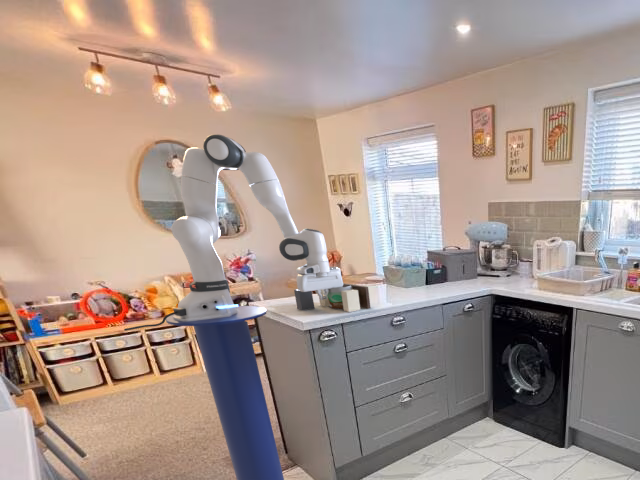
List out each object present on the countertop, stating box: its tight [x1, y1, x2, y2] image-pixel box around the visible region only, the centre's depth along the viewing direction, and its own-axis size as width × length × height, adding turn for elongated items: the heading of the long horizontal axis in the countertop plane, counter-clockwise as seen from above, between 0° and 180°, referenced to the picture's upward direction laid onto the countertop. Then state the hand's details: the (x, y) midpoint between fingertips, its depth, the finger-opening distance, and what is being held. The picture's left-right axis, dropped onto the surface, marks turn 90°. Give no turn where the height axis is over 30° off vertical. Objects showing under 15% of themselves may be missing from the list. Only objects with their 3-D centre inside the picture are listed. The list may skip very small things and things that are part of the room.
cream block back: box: [318, 290, 330, 308], centre depth 197 cm, size 6×4×9 cm, turn 144°
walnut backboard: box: [343, 282, 371, 310], centre depth 198 cm, size 2×24×10 cm, turn 54°
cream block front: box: [341, 289, 361, 313], centre depth 187 cm, size 6×4×9 cm, turn 144°
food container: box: [327, 285, 352, 310], centre depth 191 cm, size 12×6×10 cm, turn 112°
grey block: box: [293, 288, 315, 311], centre depth 189 cm, size 6×4×9 cm, turn 144°
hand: (323, 299), depth 187 cm, fingers closed
